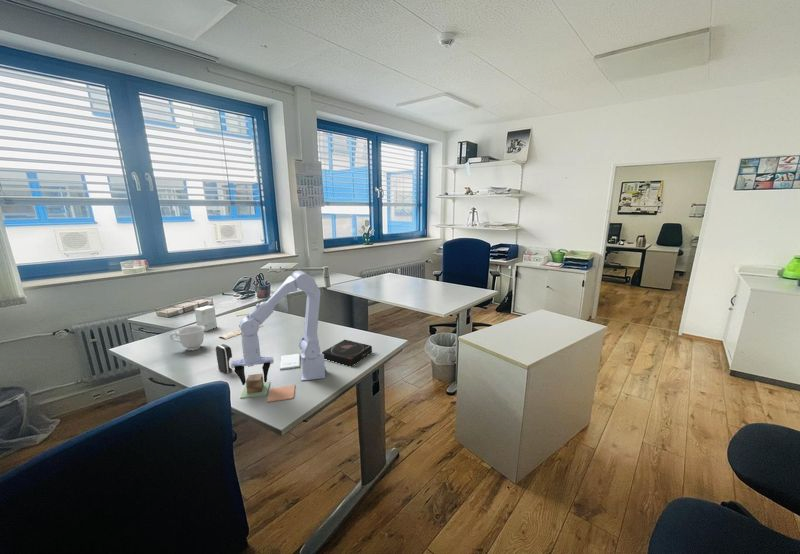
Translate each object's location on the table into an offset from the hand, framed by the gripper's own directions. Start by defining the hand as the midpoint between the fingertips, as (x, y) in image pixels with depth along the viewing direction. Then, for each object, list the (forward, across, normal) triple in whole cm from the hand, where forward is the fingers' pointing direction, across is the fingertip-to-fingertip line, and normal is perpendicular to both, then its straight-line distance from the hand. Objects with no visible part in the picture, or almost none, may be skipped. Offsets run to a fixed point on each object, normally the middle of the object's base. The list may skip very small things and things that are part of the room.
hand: (255, 382), depth 123 cm
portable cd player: (+4, +36, +22) cm, 43 cm away
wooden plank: (+4, -20, +69) cm, 72 cm away
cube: (+3, 0, 0) cm, 3 cm away
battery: (+4, -16, +20) cm, 26 cm away
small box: (+4, -40, +78) cm, 88 cm away
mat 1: (+3, 0, 0) cm, 3 cm away
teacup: (+4, -40, +50) cm, 63 cm away
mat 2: (+3, +10, -5) cm, 12 cm away
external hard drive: (+4, +11, +21) cm, 24 cm away
